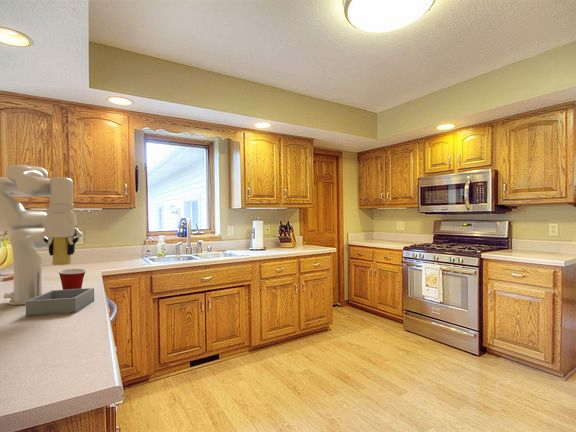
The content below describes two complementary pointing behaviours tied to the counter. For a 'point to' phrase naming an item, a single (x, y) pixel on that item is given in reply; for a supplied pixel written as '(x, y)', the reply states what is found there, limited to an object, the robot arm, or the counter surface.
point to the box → (60, 302)
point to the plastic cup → (72, 278)
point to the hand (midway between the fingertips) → (61, 254)
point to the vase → (61, 251)
